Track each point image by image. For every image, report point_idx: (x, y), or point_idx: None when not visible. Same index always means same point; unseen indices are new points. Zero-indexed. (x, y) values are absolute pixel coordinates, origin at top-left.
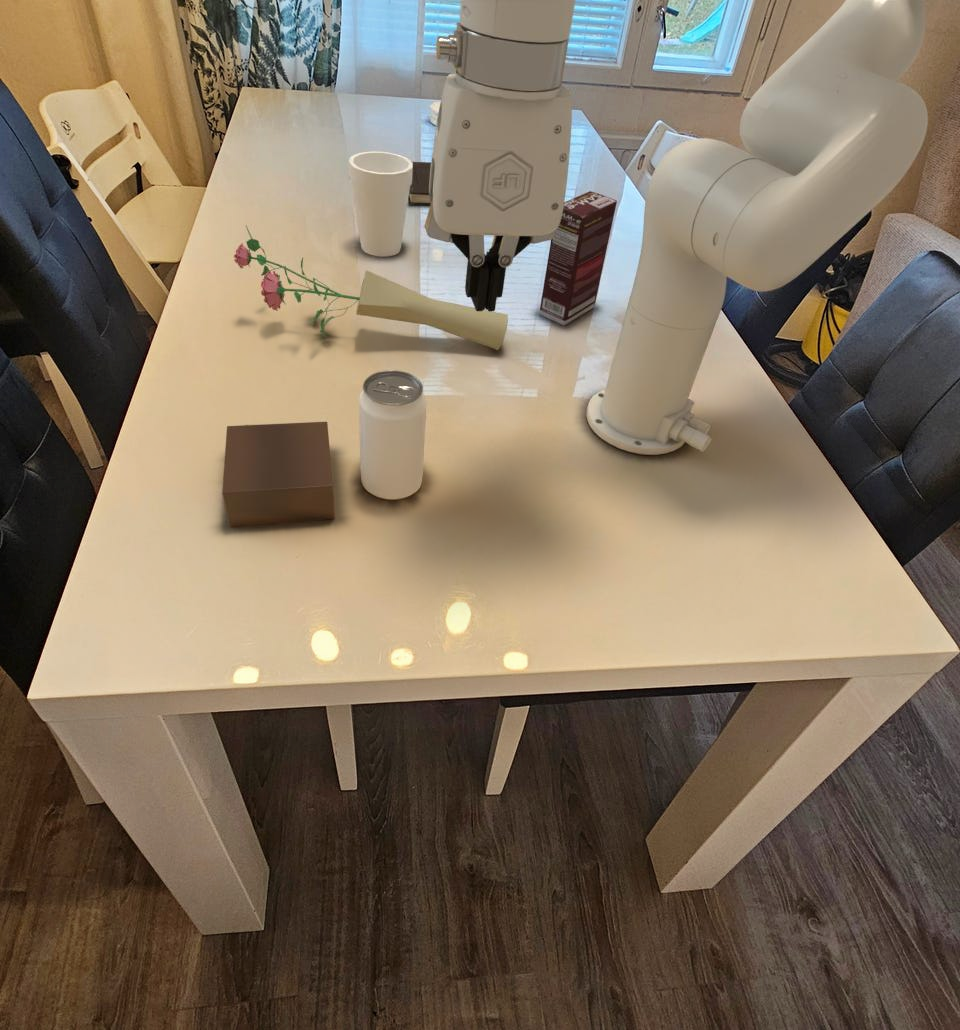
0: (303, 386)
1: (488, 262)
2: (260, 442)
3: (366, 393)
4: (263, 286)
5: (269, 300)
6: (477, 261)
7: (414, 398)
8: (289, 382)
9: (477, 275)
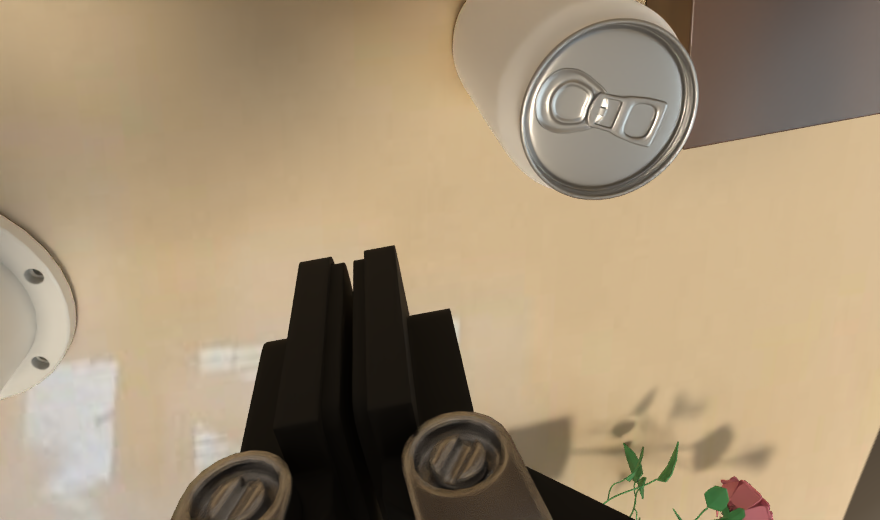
0: (673, 313)
1: (361, 490)
2: (835, 59)
3: (694, 69)
4: (772, 516)
5: (750, 491)
6: (453, 447)
7: (546, 73)
8: (697, 321)
9: (424, 393)
